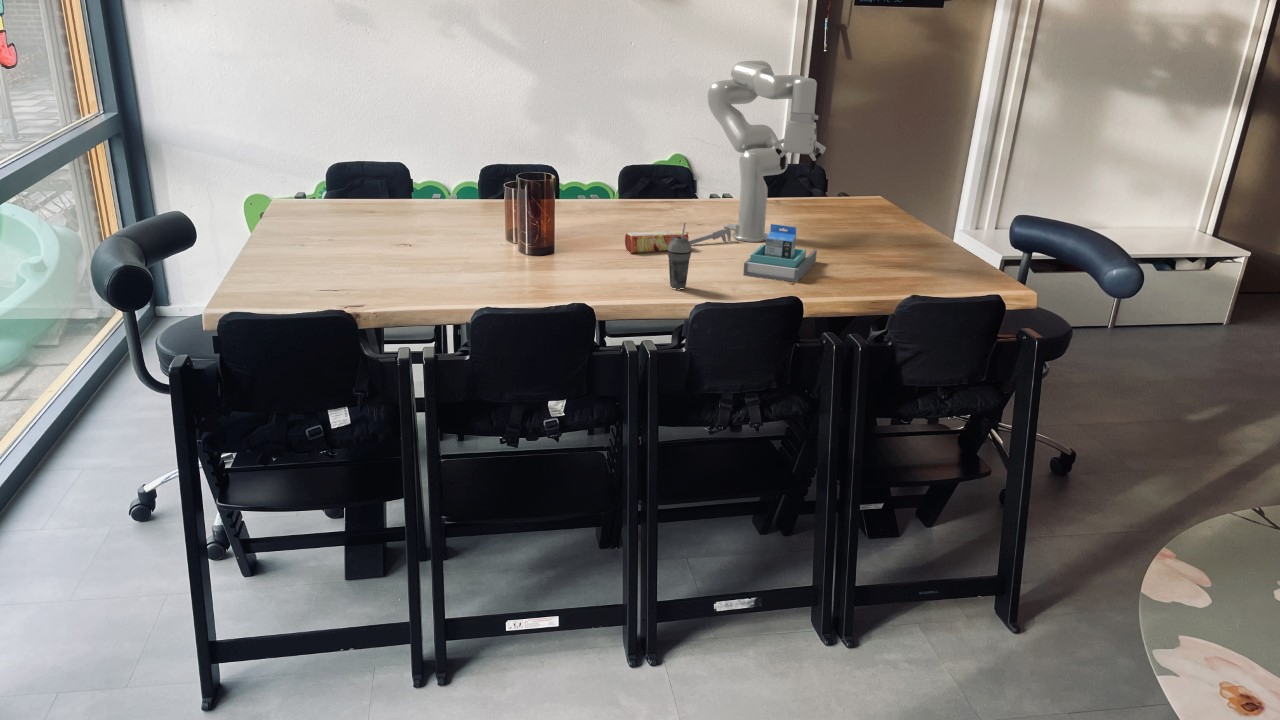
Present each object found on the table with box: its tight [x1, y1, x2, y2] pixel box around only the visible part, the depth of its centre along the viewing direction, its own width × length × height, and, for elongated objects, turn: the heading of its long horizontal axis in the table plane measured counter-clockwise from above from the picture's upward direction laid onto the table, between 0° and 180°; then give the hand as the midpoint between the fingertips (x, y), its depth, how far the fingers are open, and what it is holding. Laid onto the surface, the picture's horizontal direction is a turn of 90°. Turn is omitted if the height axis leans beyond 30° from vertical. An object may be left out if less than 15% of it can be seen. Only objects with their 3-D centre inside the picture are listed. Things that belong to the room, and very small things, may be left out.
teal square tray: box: [750, 244, 807, 268], centre depth 317 cm, size 14×14×5 cm
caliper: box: [688, 224, 732, 246], centre depth 346 cm, size 20×1×6 cm, turn 115°
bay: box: [742, 243, 818, 283], centre depth 321 cm, size 17×26×4 cm, turn 158°
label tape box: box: [765, 223, 797, 260], centre depth 316 cm, size 9×4×12 cm, turn 64°
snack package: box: [624, 230, 689, 254], centre depth 337 cm, size 21×7×7 cm, turn 108°
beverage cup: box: [666, 222, 692, 289], centre depth 295 cm, size 7×7×20 cm
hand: (797, 170), depth 328 cm, fingers open, 9 cm apart
